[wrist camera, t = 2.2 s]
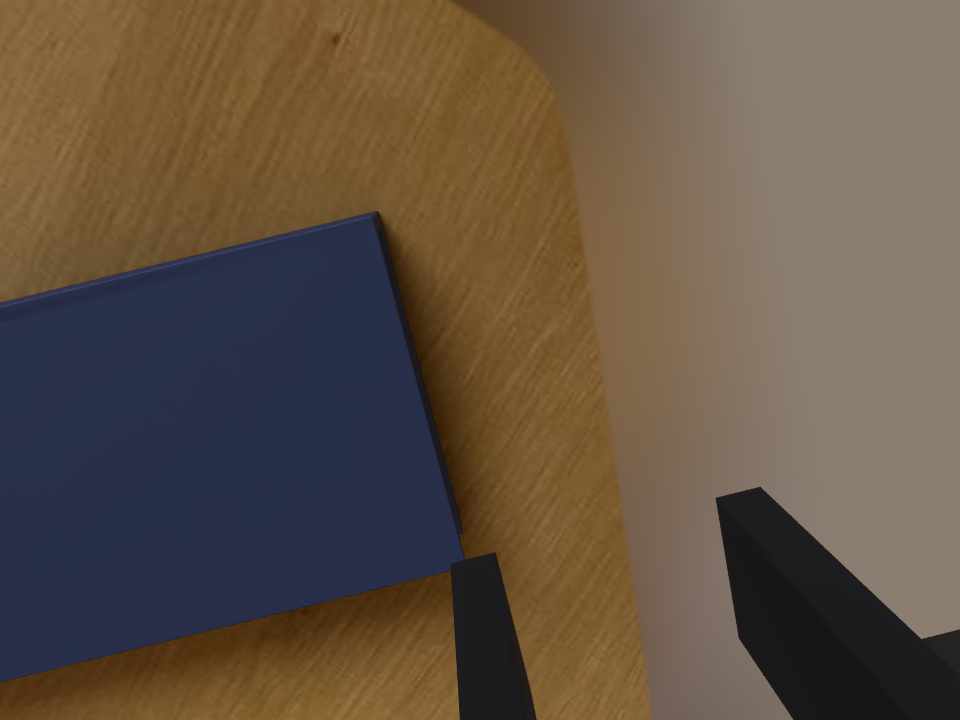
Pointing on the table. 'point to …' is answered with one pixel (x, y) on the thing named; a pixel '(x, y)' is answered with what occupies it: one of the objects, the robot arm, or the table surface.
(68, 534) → the book
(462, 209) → the table surface
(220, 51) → the table surface
